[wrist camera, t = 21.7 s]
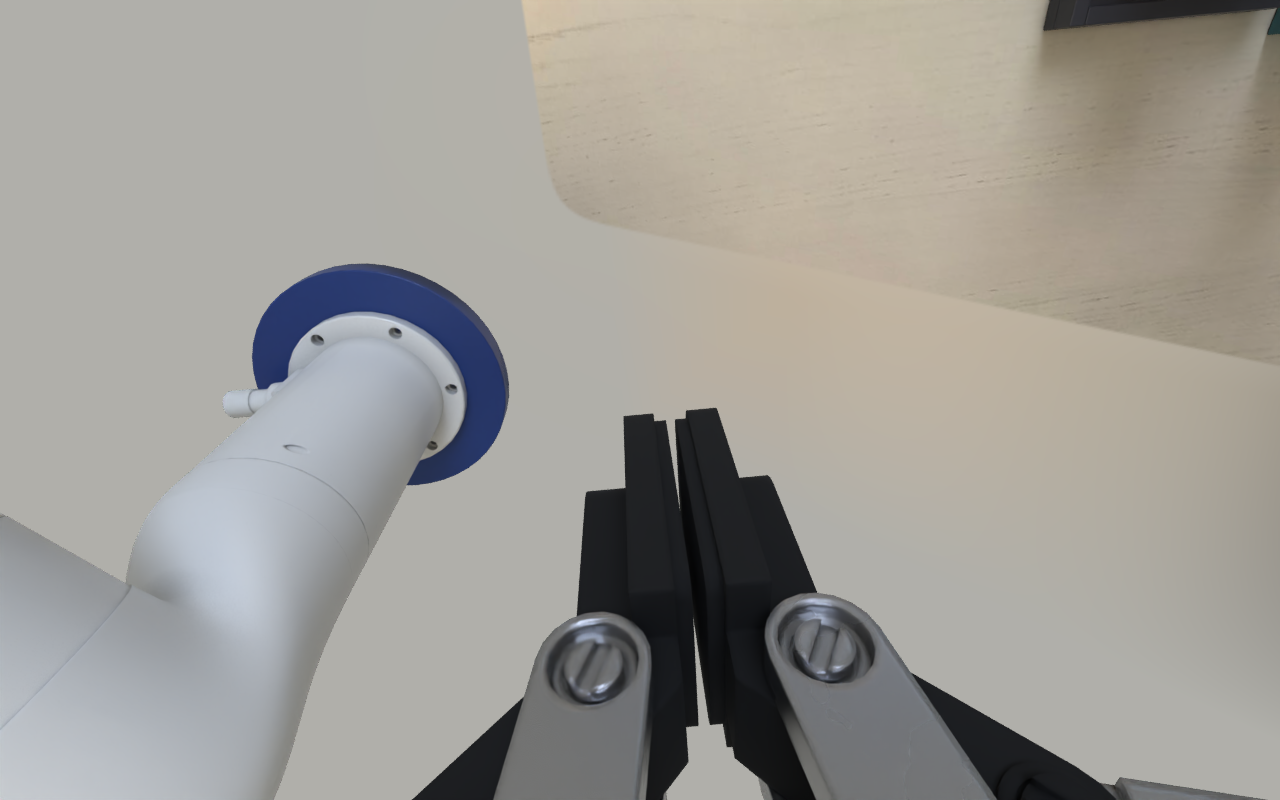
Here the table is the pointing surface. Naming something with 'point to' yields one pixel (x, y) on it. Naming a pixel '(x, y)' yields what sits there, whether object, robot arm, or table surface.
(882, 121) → the table surface
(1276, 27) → the drinks machine
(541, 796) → the robot arm
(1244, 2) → the tray
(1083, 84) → the table surface
